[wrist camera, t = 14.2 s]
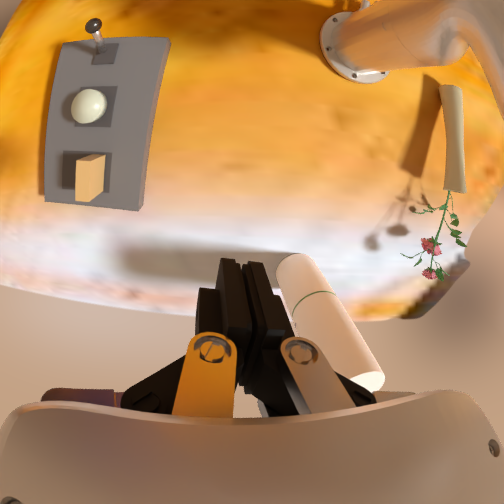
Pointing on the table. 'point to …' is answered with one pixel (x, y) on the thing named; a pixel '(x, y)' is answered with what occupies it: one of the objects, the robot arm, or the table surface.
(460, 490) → the robot arm
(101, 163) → the paddle switch
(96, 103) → the push button
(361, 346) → the cylindrical container
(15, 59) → the table surface
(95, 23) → the toggle lever
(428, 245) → the flower vase
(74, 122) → the control panel
